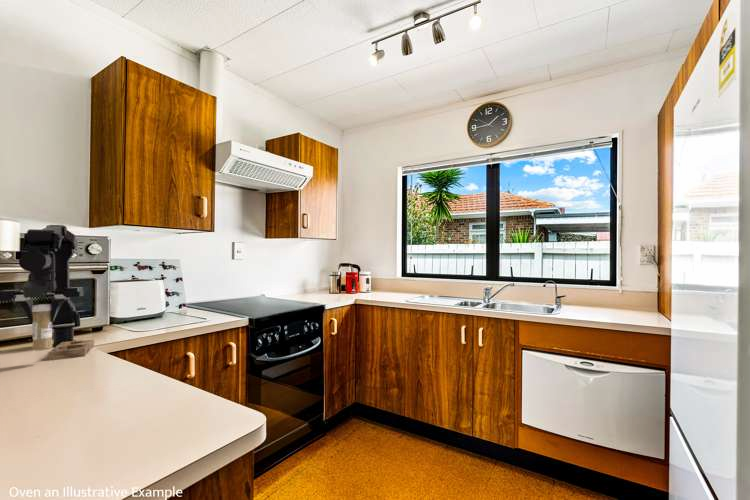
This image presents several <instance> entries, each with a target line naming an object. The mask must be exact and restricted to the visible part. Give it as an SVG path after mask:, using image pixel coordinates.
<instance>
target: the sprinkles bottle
mask: <svg viewBox="0 0 750 500" xmlns="http://www.w3.org/2000/svg"><path fill="white" fill-rule="evenodd" d="M51 310H52V303H43V304H42V303H41V304H40V303H39V304H33V306H32V312H33V323H32V351H36V352H37V351H38V352H39V351H45V350H50V349H53V347H52V344H53V329H52V326H53V325H52V322H51Z"/></svg>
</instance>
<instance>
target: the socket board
mask: <svg viewBox="0 0 750 500" xmlns="http://www.w3.org/2000/svg"><path fill="white" fill-rule="evenodd" d="M94 346H95V339H93V338H92V339H85V340H84V339H83V340H81V339H79V340H76V341H70V342H62V343H60V344H59V345H58V346H55V347H53V348H51V350H49V351H48V361H54V360H62V359H73V358H78V357H80V358H81V357H85V356H86V355H87V354H88V353H89V352H90V351H91V350H92V349H93V348H94Z"/></svg>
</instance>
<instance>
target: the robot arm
mask: <svg viewBox="0 0 750 500" xmlns="http://www.w3.org/2000/svg"><path fill="white" fill-rule="evenodd" d="M77 245H78V243H77V237H76V235H75V234H74V233H72V231H70V230H68V228H67V226H66V225H64V224H49V225H46V227H44V228H42V229H34V228H33V229H32V228H31V229H28V230H27V231H26V232H25V233H24V234H23V238H22V243H21V246H20V252H24V253H23V254H22V255H20V257H19V259H18V265H19V266H20V268H21V269H22V270H24V271H25V272H29V273H28V276H27V277H28V278H27V281H26V282H25V283H24V284H23V286H22V289H4V290H0V302H6V301H7V302H9V301H12V300H14V301H13V304H18V305H19V306H21V308H22V310H23V311H24V313H25V314H26V317H27V319H28V320H29V323H30V324H33V312H32V306H33V305H34V299H33V298H42V297H53V299H51V304H52V310H51V322H52V348H55V347H56V346H58V345H59V344H60V343H62V342H70V341H77V340H74V332H75V331H74V329H75V328H79V327H81V318H80V314H79V313H78V311H77V310H76V305H75V304H74V302H72V300H71V298H79V297H83V296H84V289H83V287H82V286H73V287H72V286H71V287H70V285H71V284H70V261H71V259H72V258H73V256H75V251H76V250H77V247H78V246H77Z"/></svg>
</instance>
